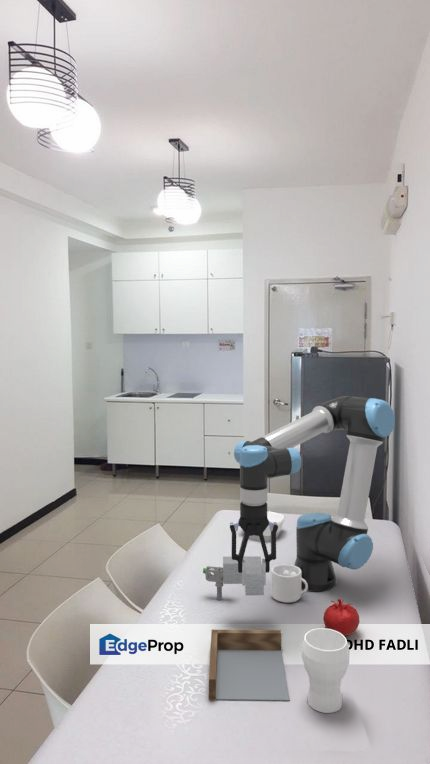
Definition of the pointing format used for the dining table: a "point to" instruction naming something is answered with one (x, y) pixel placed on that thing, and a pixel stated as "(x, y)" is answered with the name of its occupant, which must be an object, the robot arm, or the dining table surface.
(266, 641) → the corner walls
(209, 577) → the mechanical component
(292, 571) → the mug
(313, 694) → the cup
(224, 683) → the slate mat
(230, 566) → the bracket
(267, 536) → the bowl
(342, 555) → the robot arm
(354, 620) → the pomegranate
